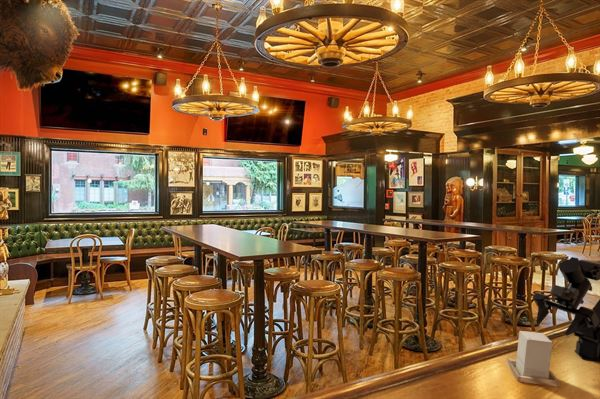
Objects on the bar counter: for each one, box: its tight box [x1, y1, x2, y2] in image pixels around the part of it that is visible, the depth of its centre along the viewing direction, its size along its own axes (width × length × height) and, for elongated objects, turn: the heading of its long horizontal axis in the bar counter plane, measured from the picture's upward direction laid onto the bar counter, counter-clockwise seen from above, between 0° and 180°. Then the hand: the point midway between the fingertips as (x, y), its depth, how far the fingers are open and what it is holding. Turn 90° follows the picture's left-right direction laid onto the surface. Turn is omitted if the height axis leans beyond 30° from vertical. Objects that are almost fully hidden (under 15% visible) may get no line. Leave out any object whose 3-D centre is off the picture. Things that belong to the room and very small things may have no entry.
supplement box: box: [515, 330, 553, 380], centre depth 129 cm, size 7×7×13 cm
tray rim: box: [505, 358, 561, 388], centre depth 129 cm, size 12×12×2 cm
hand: (551, 329), depth 132 cm, fingers open, 9 cm apart
